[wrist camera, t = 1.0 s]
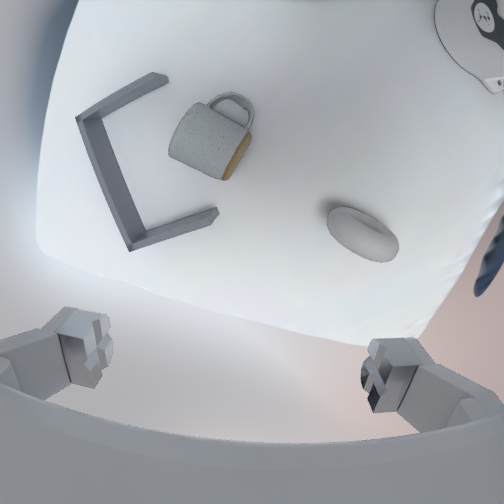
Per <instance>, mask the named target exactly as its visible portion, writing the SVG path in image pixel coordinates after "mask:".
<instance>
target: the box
mask: <svg viewBox="0 0 504 504" xmlns="http://www.w3.org/2000/svg"><path fill="white" fill-rule="evenodd" d="M167 83H169V80H168V78H167V76H165V75H161V74H157V73H154V72H151V73H149V74H147V75H145V76H144V77H142V78H140V79H138V80H136V81H134V82H132V83H131V84H129V85H127V86H125V87H123V88H122V89H120V90H118V91H116V92H115V93H113V94H111V95H110V96H108V97H106V98H105V99H103V100H101V101H100V102H98V103H97V104H95V105H93V106H92V107H90V108H89V109H87V110H86V111H84V112H83V113H81V114H80V115H78V116H77V117H75V119H76V122H77V125H78V127H79V130H80V133H81V136H82V139H83V142H84V145H85V147H86V150H87V153H88V156H89V158H90V161H91V164H92V166H93V169H94V171H95V174H96V176H97V179H98V181H99V184H100V186H101V189H102V191H103V194H104V196H105V199H106V201H107V203H108V206H109V208H110V210H111V213H112V215H113V217H114V220H115V222H116V224H117V226H118V229H119V231H120V233H121V235H122V237H123V240H124V242H125V244H126V246H127V248H128V250H129V252H131V251H134V250H137V249H140V248H143V247H145V246H148V245H151V244H154V243H157V242H160V241H163V240H166V239H170V238H173V237H176V236H179V235H182V234H185V233H188V232H191V231H194V230H197V229H200V228H203V227H207V226H210V225H211V224H212V223H213V221H214V220H215V219H216V217H217V216H218V215H219V212H218V210H217V207H216V208H213V209H210V210H207V211H204V212H201V213H198V214H195V215H192V216H189V217H186V218H183V219H180V220H177V221H174V222H171V223H169V224H166V225H163V226H160V227H157V228H154V229H152V230H149V231H146V230H145V228H144V226H143V223H142V221H141V219H140V216H139V214H138V212H137V209H136V207H135V205H134V202H133V200H132V198H131V195H130V193H129V190H128V188H127V185H126V183H125V180H124V178H123V175H122V173H121V170H120V168H119V165H118V163H117V160H116V157H115V155H114V152H113V150H112V147H111V144H110V141H109V139H108V136H107V133H106V130H105V128H104V125H103V122H102V119H101V118H103V117H105V116H106V115H108V114H110V113H111V112H113V111H115V110H117V109H118V108H120V107H122V106H124V105H126V104H127V103H129V102H131V101H133V100H135V99H137V98H139V97H141V96H142V95H144V94H146V93H148V92H150V91H152V90H154V89H156V88H158V87H160V86H162V85H164V84H167Z"/></svg>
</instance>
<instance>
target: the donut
mask: <svg viewBox="0 0 504 504" xmlns="http://www.w3.org/2000/svg"><path fill="white" fill-rule="evenodd" d="M327 227H328V230H329V231H330V233H331V235H332V236H333V237H334V238H335V239H336V240H337V241H338V242H339V243H340V244H342V245H343V246H344V247H346V248H347V249H349V250H350V251H352V252H353V253H355V254H357V255H359V256H361V257H363V258H366V259H368V260H371V261H376V262H381V263H382V262H388V261H391V260H393V259H394V258H395V256H396V255H397V253H398V250H399V243H398V240H397V238H396V236H395V235H394V234H393V233H392V232H391V231H390V230H389V229H388V228H387V227H386V226H384V225H383V224H381V223H380V222H378V221H377V220H375V219H373V218H372V217H370V216H368V215H366V214H364V213H362V212H360V211H357V210H355V209H352V208H347V207H339V208H335V209H333V210H332V211H331V212H330V213H329V215H328V218H327Z"/></svg>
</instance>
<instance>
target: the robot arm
mask: <svg viewBox="0 0 504 504" xmlns="http://www.w3.org/2000/svg"><path fill="white" fill-rule="evenodd" d="M435 23H436V28H437V31H438V34H439V37H440V39H441V41H442V43H443V45H444V47H445V48H446V50H447V51H448V53H449V54H450V55H451V57H452V58H453V59H454V60H455V61H456V62H457V63H458V64H459V65H460V66H461V67H462V68H464V69H465V70H466V71H468V72H469V73H471V74H473V75H474V76H476V77H477V78H478V79H480V81H481V82H482V83H483V84H484V86H485V87H486V88H487V89H488V90H489V91H490V92H491V93H498V92H500V91H503V90H504V0H438V2H437V4H436V8H435ZM498 82H499V85H498ZM109 328H110V321H109V317H108V316H107V315H106V314H102V313H97V312H92V311H87V310H83V309H78V308H73V307H63V308H62V309H61V310H60V311H59V312H58V313H57V314H56V315H55V316H54V317H53V318H52V319H51V320H50V321H49V322H48V323H47V324H46V325H45V326H43V327H42V328H41V329H38V328H37V329H34V330H30V331H27V332H24V333H21V334H17V335H14V336H11V337H8V338H5V339H2V340H0V504H504V404H503V403H502V402H501V400H500V399H499V398H498V396H497V395H496V394H495V393H494V392H493V391H491V390H489V389H487V388H485V387H483V386H481V385H479V384H477V383H475V382H473V381H471V380H470V379H468V378H466V377H464V376H462V375H460V374H458V373H456V372H454V371H452V370H450V369H448V368H446V367H444V366H443V365H441V364H435V362H434V361H433V360H432V358H431V357H430V356H429V354H428V353H427V352H426V350H425V349H424V348H423V346H422V345H421V344H420V342H419V341H418V340H417V339H416V338H414V337H409V338H385V339H372V340H371V342H370V344H369V347H368V352H369V354H370V356H369V357H368V358H367V359H366V360H365V361H364V362H363V366H362V369H361V384H362V387H363V389H364V390H365V391H367V392H368V393H369V396H368V398H367V399H368V402H369V404H370V406H371V409H372V411H373V413H382V412H397V413H398V414H399V415H400V416H402V417H403V418H404V419H405V420H406V421H407V422H409V423H410V424H411V425H412V426H413V427H414V428H416V429H417V430H418V431H419V432H420V433H417V434H411V435H405V436H397V437H389V438H382V439H371V440H361V441H348V442H329V443H264V442H246V441H231V440H221V439H211V438H202V437H194V436H187V435H180V434H174V433H168V432H161V431H156V430H151V429H146V428H141V427H137V426H131V425H127V424H123V423H119V422H115V421H111V420H107V419H103V418H99V417H95V416H92V415H88V414H85V413H81V412H78V411H75V410H71V409H68V408H65V407H62V406H59V405H56V404H53V403H50V402H47V401H45V400H46V399H47V398H49V397H51V396H52V395H54V394H56V393H57V392H59V391H60V390H62V389H64V388H66V387H67V386H69V385H70V384H71V383H73V384H77V385H81V386H85V387H89V388H95V387H96V385H97V384H98V382H99V380H100V379H101V377H102V372H101V370H102V369H104V368H106V367H108V365H109V363H110V361H111V358H112V354H113V342H112V338H111V337H110V336H109V334H108V333H107V331H108V330H109Z"/></svg>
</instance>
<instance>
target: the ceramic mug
mask: <svg viewBox="0 0 504 504" xmlns="http://www.w3.org/2000/svg"><path fill="white" fill-rule="evenodd" d="M223 99H232V100H234V101H236V102H237V103H239V104H240V105H241V106H243V108H244V109H247V110H248V112H249V120H248V123H247V125H246V127H242V126H241V125H239V124H237V123H236V122H234V121H232V120H230V119H228V118H226V117H224V116H223V115H221V114H220V113H218V112H216V111H214V110H212V109H211V107H212V106H213V105H214V104H216V103H217V102H219V101H221V100H223ZM252 119H253V109H252V106H251V104H250V102H249V101H248V100H247V99H246V98H244V97H243V96H241V95H239V94H236V93H231V92H230V93H224V94H221V95H218V96H217V97H215V98H214V99H212V100H211V101H210V102H209V103H208V104H207V105H204V104H202V103H196V104H195V105H193V106H192V107H191V108H190V109H189V110H188V112H187V113H186V114H185V116H184V117H183V118H182V120H181V121H180V123H179V125H178V127H177V128H176V130H175V132H174V135H173V137H172V139H171V142H170V145H169V149H168V153H169V156H170V157H171V158H174V159H176V160H178V161H180V162H182V163H184V164H186V165H188V166H190V167H192V168H195V169H197V170H199V171H201V172H203V173H205V174H207V175H209V176H211V177H213V178H216V179H219V180H227V179H229V178H230V176H231V175H232V173H233V171H234V169H235V168H236V166H237V164H238V163H239V161H240V159H241V157H242V156H243V154H244V152H245V150H246V148H247V147H248V145H249V143H250V141H251V134H250V133H249V132H248V129H249V127H250V125H251V123H252Z"/></svg>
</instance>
